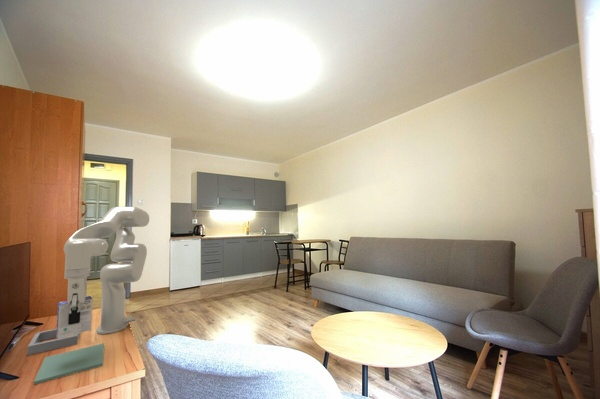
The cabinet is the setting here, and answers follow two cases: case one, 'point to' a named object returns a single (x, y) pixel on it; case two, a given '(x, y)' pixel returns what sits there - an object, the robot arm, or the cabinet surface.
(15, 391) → the cabinet surface
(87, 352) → the place mat
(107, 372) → the cabinet surface
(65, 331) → the ink cartridge box
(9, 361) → the cabinet surface
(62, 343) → the pocket holder
